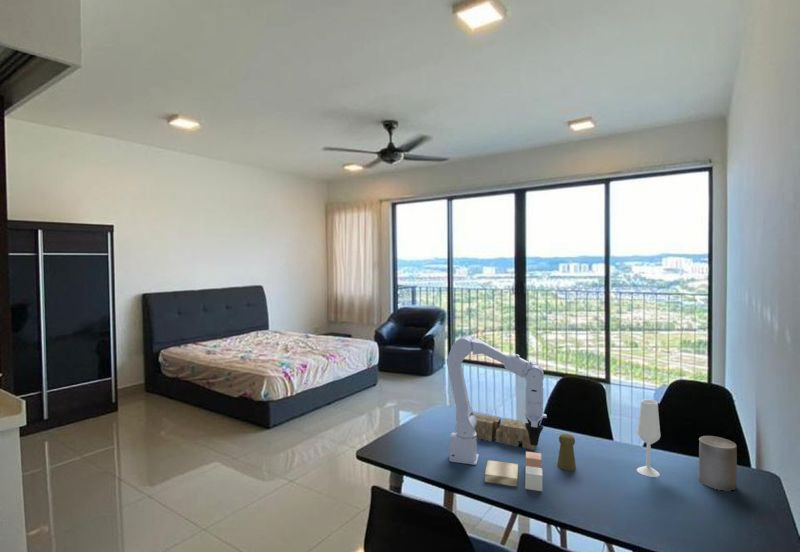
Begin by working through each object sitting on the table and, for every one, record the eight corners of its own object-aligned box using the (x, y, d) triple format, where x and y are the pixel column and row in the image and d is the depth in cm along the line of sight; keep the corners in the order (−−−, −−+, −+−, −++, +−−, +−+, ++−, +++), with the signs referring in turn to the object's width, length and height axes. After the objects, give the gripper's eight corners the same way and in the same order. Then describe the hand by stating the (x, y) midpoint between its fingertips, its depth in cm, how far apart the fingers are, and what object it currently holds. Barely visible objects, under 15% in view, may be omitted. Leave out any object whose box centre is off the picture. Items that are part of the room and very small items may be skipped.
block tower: (537, 445, 166) (466, 429, 179) (538, 424, 166) (467, 409, 179) (533, 453, 159) (459, 435, 172) (534, 431, 159) (460, 415, 172)
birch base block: (484, 483, 136) (484, 473, 136) (487, 468, 145) (487, 460, 145) (517, 487, 133) (517, 478, 133) (517, 473, 142) (518, 464, 142)
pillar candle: (729, 479, 138) (729, 433, 138) (742, 494, 129) (742, 445, 128) (694, 474, 141) (694, 430, 141) (704, 489, 132) (704, 441, 132)
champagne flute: (658, 469, 144) (659, 400, 143) (661, 478, 138) (662, 406, 137) (635, 465, 147) (637, 397, 146) (637, 474, 141) (638, 403, 140)
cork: (577, 471, 143) (578, 439, 142) (558, 469, 144) (559, 437, 144) (574, 463, 149) (574, 432, 148) (555, 461, 150) (556, 430, 150)
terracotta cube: (525, 472, 142) (525, 457, 142) (525, 465, 147) (525, 451, 147) (541, 474, 141) (541, 459, 141) (540, 467, 145) (541, 453, 145)
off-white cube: (525, 489, 132) (525, 473, 131) (525, 481, 136) (525, 465, 136) (542, 491, 130) (542, 475, 130) (541, 483, 135) (542, 468, 135)
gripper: (547, 409, 135) (547, 451, 135) (545, 395, 149) (545, 433, 149) (524, 406, 137) (524, 448, 137) (525, 393, 151) (524, 431, 151)
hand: (533, 440), depth 143 cm, fingers open, 7 cm apart
